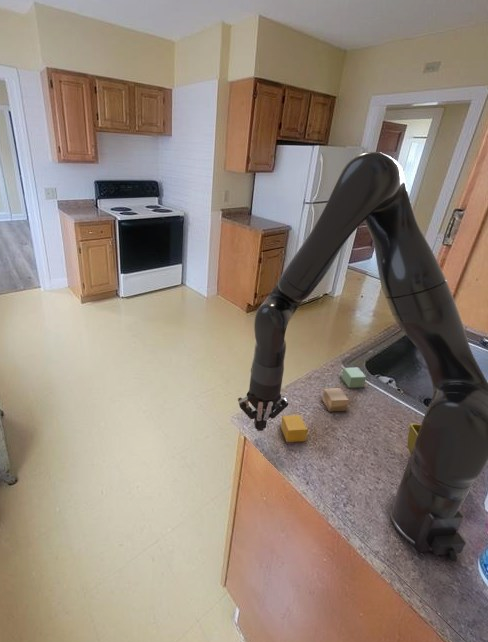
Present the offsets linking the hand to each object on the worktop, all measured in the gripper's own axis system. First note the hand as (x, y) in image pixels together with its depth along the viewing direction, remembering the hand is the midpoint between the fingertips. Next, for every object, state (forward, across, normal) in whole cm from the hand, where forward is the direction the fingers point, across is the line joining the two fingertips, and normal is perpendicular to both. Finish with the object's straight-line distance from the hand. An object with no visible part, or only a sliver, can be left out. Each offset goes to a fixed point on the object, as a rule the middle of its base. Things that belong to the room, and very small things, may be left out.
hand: (259, 428), depth 84 cm
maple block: (+2, +25, +9) cm, 27 cm away
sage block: (+2, +36, +19) cm, 41 cm away
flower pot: (+2, +38, -12) cm, 40 cm away
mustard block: (+2, +9, 0) cm, 9 cm away
